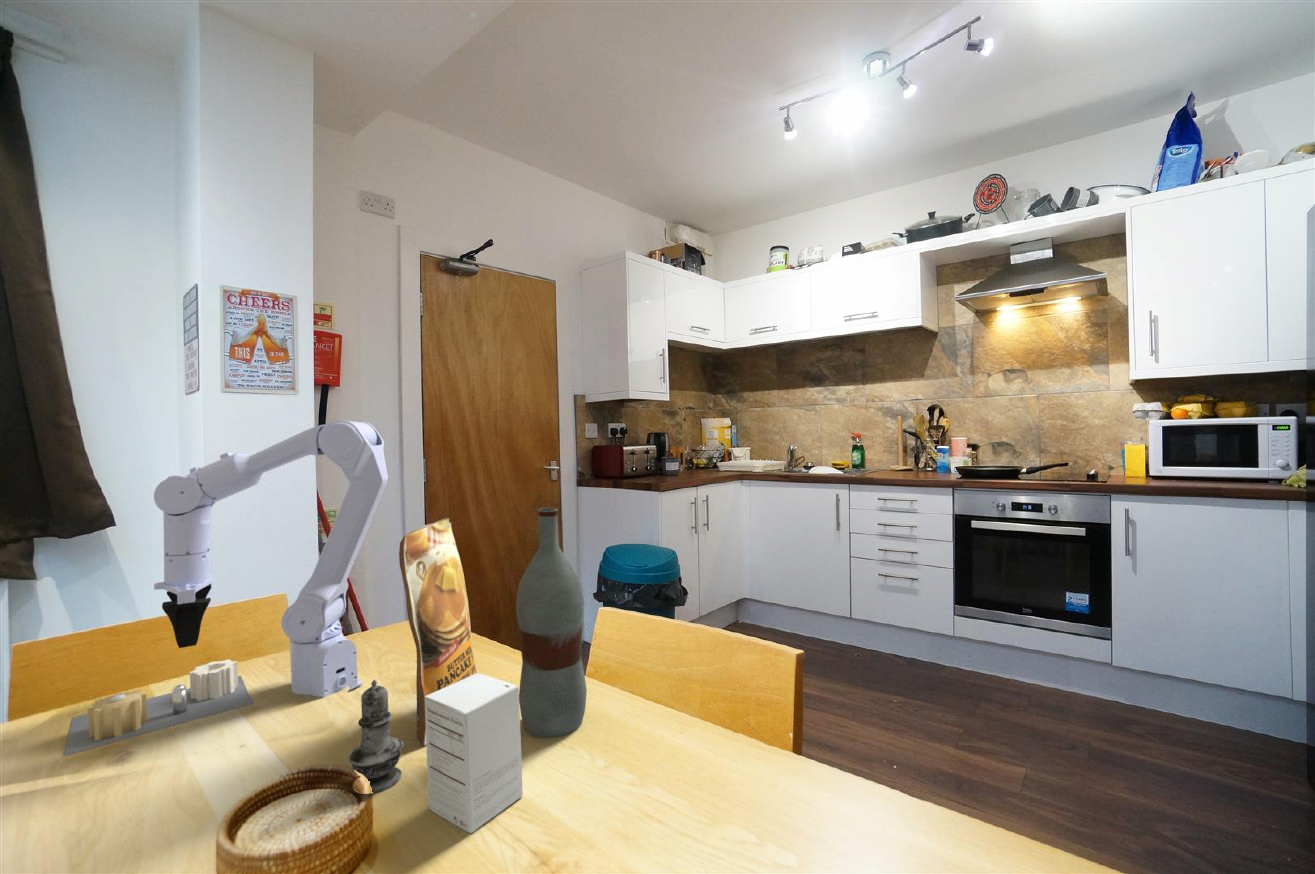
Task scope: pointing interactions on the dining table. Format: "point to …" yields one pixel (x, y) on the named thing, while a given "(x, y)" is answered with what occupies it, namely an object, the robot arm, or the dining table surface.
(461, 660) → the pancake mix bag
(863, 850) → the dining table surface
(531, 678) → the bottle
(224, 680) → the gear
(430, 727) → the supplement box
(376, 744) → the dark grey tall piece
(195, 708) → the gear board
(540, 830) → the dining table surface
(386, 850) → the dining table surface
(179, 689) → the steel peg
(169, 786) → the dining table surface
